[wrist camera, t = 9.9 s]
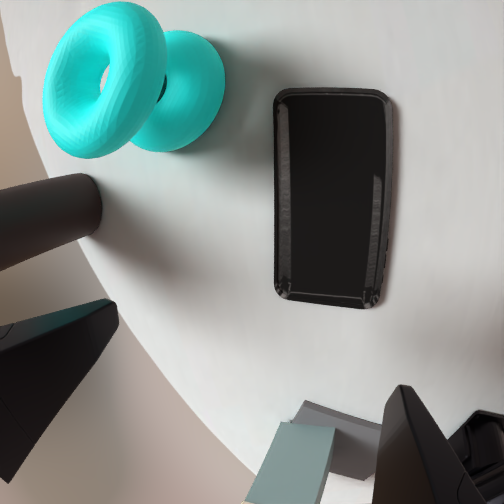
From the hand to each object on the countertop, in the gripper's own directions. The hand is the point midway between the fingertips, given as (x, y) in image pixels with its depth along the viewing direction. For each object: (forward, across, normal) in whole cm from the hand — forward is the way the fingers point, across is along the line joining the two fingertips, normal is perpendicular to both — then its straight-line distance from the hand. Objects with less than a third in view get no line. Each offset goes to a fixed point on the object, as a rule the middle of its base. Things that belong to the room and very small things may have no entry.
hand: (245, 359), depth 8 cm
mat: (+12, -9, +22) cm, 27 cm away
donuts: (+16, +12, -8) cm, 21 cm away
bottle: (+16, +23, +3) cm, 28 cm away
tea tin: (+12, -6, +22) cm, 25 cm away
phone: (+15, -2, -2) cm, 15 cm away
